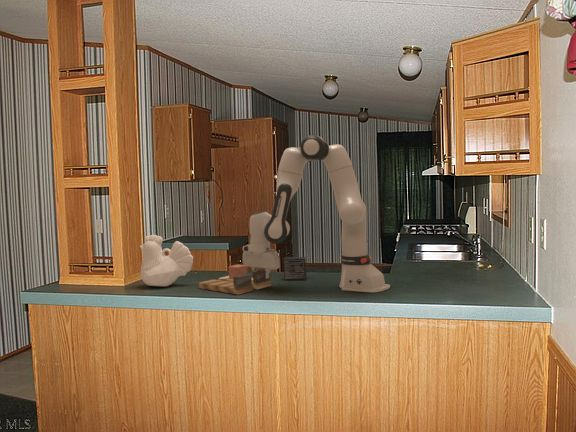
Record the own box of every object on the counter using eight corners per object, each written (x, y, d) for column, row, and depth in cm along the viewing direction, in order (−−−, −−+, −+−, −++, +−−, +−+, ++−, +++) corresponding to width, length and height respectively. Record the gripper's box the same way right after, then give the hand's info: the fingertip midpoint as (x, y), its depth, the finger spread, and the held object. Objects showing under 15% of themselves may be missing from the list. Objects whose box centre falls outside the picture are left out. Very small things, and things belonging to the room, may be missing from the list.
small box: (306, 277, 274) (306, 256, 273) (305, 280, 268) (305, 258, 267) (285, 277, 275) (284, 256, 274) (284, 280, 269) (283, 259, 268)
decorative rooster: (135, 289, 262) (131, 237, 260) (151, 282, 277) (147, 232, 275) (185, 290, 256) (181, 236, 254) (198, 282, 271) (195, 232, 269)
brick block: (247, 277, 265) (246, 265, 264) (237, 280, 260) (237, 267, 260) (238, 276, 269) (237, 264, 268) (229, 278, 264) (228, 266, 264)
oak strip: (252, 290, 248) (251, 273, 247) (238, 294, 241) (237, 277, 240) (213, 284, 265) (212, 268, 264) (199, 288, 258) (198, 272, 258)
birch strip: (271, 285, 257) (270, 269, 256) (257, 289, 250) (256, 272, 249) (232, 280, 274) (231, 264, 273) (218, 283, 267) (217, 267, 266)
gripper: (282, 247, 248) (283, 278, 250) (249, 245, 262) (250, 274, 263) (272, 249, 244) (273, 281, 245) (239, 247, 257) (241, 276, 258)
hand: (261, 277), depth 254 cm, fingers open, 5 cm apart
